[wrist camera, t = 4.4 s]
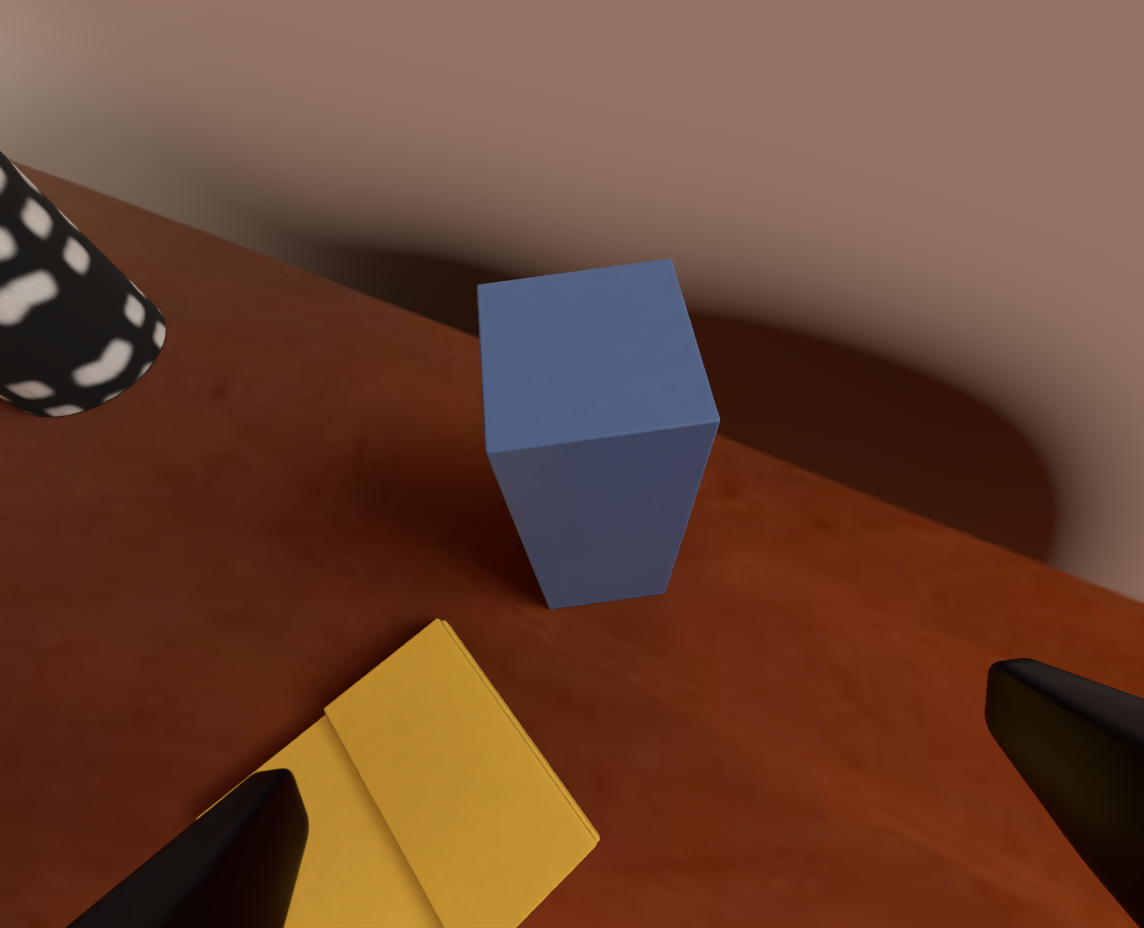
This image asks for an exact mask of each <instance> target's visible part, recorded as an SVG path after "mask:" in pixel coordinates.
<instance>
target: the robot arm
mask: <svg viewBox="0 0 1144 928" xmlns="http://www.w3.org/2000/svg"><path fill="white" fill-rule="evenodd" d="M985 719H986V723H987V726H988V729H989V731H990V733H991V734H992V736H993V738H994V739H995V741H996V742H997V743H998V745H999V746H1000V747H1001V749H1002V750H1003V752H1004V753H1005V754H1006V756H1007V757H1008V758H1009V760H1010V761H1011V763H1012V764H1013V765H1014V767H1015V768H1016V769H1017V771H1018V772H1019V774H1020V775H1021V776H1022V778H1023V779H1024V780H1025V782H1026V783H1027V785H1028V786H1029V787H1030V789H1031V790H1032V791H1033V793H1034V794H1035V796H1036V797H1037V798H1038V800H1039V801H1040V802H1041V804H1042V805H1043V807H1044V808H1045V809H1046V811H1047V812H1048V814H1049V815H1050V816H1051V818H1052V819H1053V820H1054V822H1055V823H1056V825H1057V826H1058V827H1059V829H1060V830H1061V831H1062V833H1063V834H1064V836H1065V837H1066V838H1067V840H1068V841H1069V842H1070V844H1071V845H1072V846H1073V848H1074V849H1075V850H1076V851H1077V853H1078V854H1079V855H1080V857H1081V858H1082V859H1083V861H1084V862H1085V863H1086V864H1087V866H1088V867H1089V868H1090V869H1091V871H1092V872H1093V873H1094V874H1095V875H1096V877H1097V878H1098V879H1099V880H1100V882H1101V883H1102V884H1103V885H1104V886H1105V888H1106V889H1107V890H1108V891H1109V892H1110V894H1111V895H1112V896H1113V897H1114V898H1115V899H1116V901H1117V902H1118V903H1119V904H1120V905H1121V907H1122V908H1123V909H1124V910H1125V911H1126V912H1127V914H1128V915H1129V916H1130V917H1131V918H1132V919H1133V921H1134V922H1135V923H1136V924H1137V925H1138V927H1139V928H1144V699H1143V698H1140V697H1137V696H1135V695H1132V694H1129V693H1126V692H1123V691H1120V690H1118V689H1115V688H1112V687H1109V686H1106V685H1103V684H1101V683H1098V682H1095V681H1092V680H1089V679H1087V678H1084V677H1081V676H1078V675H1075V674H1072V673H1070V672H1067V671H1064V670H1061V669H1058V668H1055V667H1053V666H1050V665H1047V664H1044V663H1041V662H1039V661H1036V660H1033V659H1028V658H1018V659H1011V660H1005V661H998V662H995V663H994V664H992V665H991V667H990V668H989V671H988V680H987V692H986V704H985ZM308 834H309V818H308V814H307V811H306V808H305V805H304V802H303V799H302V797H301V794H300V791H299V788H298V785H297V782H296V779H295V777H294V775H293V773H292V772H291V771H290V770H289V769H286V768H279V769H272V770H266V771H260V772H257V773H254V774H252V775H251V776H249V777H248V778H247V779H246V780H244V781H243V782H242V783H241V784H240V785H238V786H237V787H236V788H235V789H233V790H232V791H231V792H230V793H229V794H227V795H226V796H225V797H224V798H223V799H221V800H220V801H219V802H218V803H216V804H215V805H214V806H213V807H212V808H210V809H209V810H208V811H207V812H206V813H204V814H203V815H202V816H201V817H199V818H198V819H197V820H196V821H195V822H193V823H192V824H191V825H190V826H188V827H187V828H186V829H185V830H184V831H182V832H181V833H180V834H179V835H178V836H176V837H175V838H174V839H173V840H171V841H170V842H169V843H168V844H167V845H165V846H164V847H163V848H162V849H161V850H159V851H158V852H157V853H156V854H154V855H153V856H152V857H151V858H150V859H148V860H147V861H146V862H145V863H143V864H142V865H141V866H140V867H139V868H137V869H136V870H135V871H134V872H133V873H131V874H130V875H129V876H128V877H126V878H125V879H124V880H123V881H122V882H120V883H119V884H118V885H117V886H115V887H114V888H113V889H112V890H111V891H109V892H108V893H107V894H106V895H105V896H103V897H102V898H101V899H100V900H98V901H97V902H96V903H95V904H94V905H92V906H91V907H90V908H89V909H88V910H86V911H85V912H84V913H83V914H81V915H80V916H79V917H78V918H77V919H75V920H74V921H73V922H72V923H70V924H69V925H68V926H67V927H66V928H284V926H285V922H286V919H287V915H288V911H289V907H290V904H291V900H292V896H293V892H294V889H295V885H296V881H297V877H298V874H299V870H300V866H301V862H302V859H303V855H304V851H305V847H306V844H307V839H308Z"/></svg>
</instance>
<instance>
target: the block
mask: <svg viewBox="0 0 1144 928" xmlns="http://www.w3.org/2000/svg"><path fill="white" fill-rule="evenodd" d="M477 299H478V318H479V339H480V358H481V377H482V397H483V416H484V436H485V453H486V455H487V458H488V460H489V462H490V465H491V467H492V470H493V472H494V475H495V477H496V480H497V482H498V485H499V487H500V489H501V492H502V494H503V497H504V499H505V502H506V504H507V507H508V509H509V511H510V514H511V516H512V519H513V521H514V524H515V526H516V529H517V531H518V534H519V536H520V538H521V541H522V543H523V546H524V548H525V551H526V553H527V556H528V558H529V561H530V563H531V565H532V568H533V570H534V573H535V575H536V578H537V580H538V583H539V585H540V588H541V590H542V592H543V595H544V597H545V600H546V602H547V605H548V607H549V609H556V608H563V607H571V606H578V605H585V604H592V603H600V602H607V601H614V600H621V599H629V598H636V597H643V596H650V595H658V594H664V593H665V592H666V589H667V585H668V582H669V579H670V576H671V573H672V570H673V567H674V563H675V560H676V557H677V554H678V551H679V548H680V545H681V542H682V538H683V535H684V532H685V529H686V526H687V523H688V520H689V516H690V513H691V510H692V507H693V504H694V501H695V498H696V495H697V491H698V488H699V485H700V482H701V479H702V476H703V473H704V469H705V466H706V463H707V460H708V457H709V454H710V451H711V448H712V444H713V441H714V438H715V435H716V432H717V429H718V426H719V422H720V418H719V415H718V412H717V409H716V405H715V402H714V399H713V395H712V392H711V389H710V386H709V382H708V379H707V376H706V372H705V369H704V366H703V362H702V359H701V356H700V352H699V349H698V346H697V342H696V339H695V336H694V332H693V329H692V326H691V323H690V319H689V316H688V313H687V309H686V306H685V303H684V299H683V296H682V293H681V289H680V286H679V283H678V280H677V276H676V273H675V270H674V266H673V263H672V260H671V259H664V260H657V261H649V262H642V263H634V264H627V265H620V266H612V267H605V268H598V269H590V270H583V271H576V272H568V273H561V274H554V275H546V276H540V277H532V278H524V279H517V280H510V281H502V282H495V283H487V284H480V285H478V286H477Z"/></svg>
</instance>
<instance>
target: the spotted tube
mask: <svg viewBox="0 0 1144 928" xmlns="http://www.w3.org/2000/svg"><path fill="white" fill-rule="evenodd" d="M165 331H166V325H165V321H164V317H163V315H162V314H161V312H160V310H159V309H158V308H157V307H156V306H155V305H154V304H153V303H152V302H151V301H150V300H149V299H148V298H147V297H146V296H145V295H144V294H143V293H142V292H141V291H140V290H139V289H138V288H137V287H136V286H135V285H134V284H133V283H132V282H131V281H130V280H129V279H128V278H127V277H126V276H125V275H124V274H123V273H122V272H121V271H120V270H119V269H118V268H117V267H116V266H115V265H114V264H113V263H112V262H111V261H110V260H109V259H108V258H107V257H106V256H105V255H104V254H103V253H102V252H101V251H100V250H99V249H98V248H97V247H96V246H95V245H94V244H93V243H92V242H91V241H90V240H89V239H88V238H87V237H86V236H85V235H84V234H83V233H82V232H81V231H80V230H79V229H78V228H77V227H76V226H75V225H74V224H73V223H72V222H71V221H70V220H69V219H68V218H67V217H66V216H65V215H64V214H63V213H62V212H61V211H60V210H59V209H58V208H57V207H56V206H55V205H54V204H53V203H52V202H51V201H50V200H49V199H48V198H47V197H46V196H45V195H44V194H43V193H42V192H41V191H40V190H39V189H38V188H37V187H36V186H35V185H34V184H33V183H32V182H31V181H30V180H29V179H28V178H27V177H26V176H25V175H24V174H23V173H22V172H21V171H20V170H19V169H18V168H17V167H16V166H15V165H14V164H13V163H12V162H11V161H10V160H9V159H8V158H7V157H6V156H5V155H4V154H2V152H0V398H2V399H4V400H5V401H7V402H9V403H10V404H12V405H14V406H15V407H17V408H19V409H20V410H22V411H24V412H25V413H29V414H33V415H36V416H47V417H55V416H63V415H70V414H74V413H77V412H81V411H85V410H87V409H90V408H92V407H95V406H97V405H100V404H102V403H104V402H106V401H107V400H109V399H111V398H113V397H115V396H116V395H118V394H119V393H121V392H122V391H124V390H125V389H126V388H128V387H129V386H131V385H132V384H133V383H134V382H135V381H136V380H137V379H138V378H139V377H141V376H142V375H143V374H144V373H145V371H146V370H147V369H148V368H149V367H150V365H151V364H152V363H153V362H154V360H155V358H156V357H157V355H158V353H159V352H160V350H161V347H162V345H163V342H164V339H165Z"/></svg>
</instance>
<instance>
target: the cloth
mask: <svg viewBox="0 0 1144 928" xmlns="http://www.w3.org/2000/svg"><path fill="white" fill-rule="evenodd" d="M324 711H325V713H326V715H324V716H323V717H322V718H321V719H319V720H318V721H317V722H316V723H314V724H313V725H312V726H311V727H309V728H308V729H307V730H306V731H304V732H303V733H302V734H301V735H299V736H298V737H297V738H296V739H294V740H293V741H292V742H291V743H289V744H288V745H287V746H286V747H284V748H283V749H282V750H281V751H279V752H278V753H277V754H276V755H274V756H273V757H272V758H271V759H269V760H268V761H267V762H266V763H264V764H263V765H262V766H261V767H259V768H258V769H257V770H256V771H254V772H253V773H252V774H254V773H257V772H260V771H266V770H272V769H279V768H286V769H289V770H290V771H291V772H292V773H293V775H294V777H295V779H296V782H297V785H298V788H299V791H300V794H301V797H302V799H303V802H304V805H305V808H306V811H307V814H308V818H309V834H308V839H307V844H306V847H305V851H304V855H303V859H302V862H301V866H300V870H299V874H298V877H297V881H296V885H295V889H294V892H293V896H292V900H291V904H290V907H289V911H288V915H287V919H286V922H285V926H284V928H516V927H517V926H518V925H519V924H520V923H521V922H522V921H523V920H524V919H525V918H526V917H527V916H528V915H529V914H530V913H531V912H532V911H533V910H534V909H535V908H536V907H537V906H538V905H539V904H540V903H541V902H542V901H543V900H544V899H545V897H546V896H547V895H548V894H549V893H550V892H551V891H552V890H553V889H554V888H555V887H556V886H557V885H558V884H559V883H560V882H561V881H562V880H563V879H564V878H565V877H566V876H567V875H568V874H569V873H570V872H571V871H572V870H573V869H574V868H575V867H576V866H577V865H578V864H579V863H580V862H581V861H582V860H583V859H584V858H585V857H586V856H587V854H588V853H589V852H590V851H591V850H592V849H593V848H594V847H595V846H596V845H597V842H598V841H599V839H600V835H599V834H598V832H597V831H596V830H595V828H594V827H593V825H592V824H591V823H590V821H589V820H588V818H587V817H586V815H585V814H584V813H583V811H582V810H581V808H580V807H579V806H578V804H577V803H576V801H575V800H574V799H573V797H572V796H571V794H570V793H569V792H568V790H567V789H566V787H565V786H564V785H563V783H562V782H561V780H560V779H559V778H558V776H557V775H556V773H555V772H554V771H553V769H552V768H551V766H550V765H549V764H548V762H547V761H546V759H545V758H544V757H543V755H542V754H541V752H540V751H539V750H538V748H537V747H536V745H535V744H534V743H533V741H532V740H531V738H530V737H529V736H528V734H527V733H526V731H525V730H524V728H523V727H522V726H521V724H520V723H519V721H518V720H517V719H516V717H515V716H514V714H513V713H512V712H511V710H510V709H509V707H508V706H507V705H506V703H505V702H504V700H503V699H502V698H501V696H500V695H499V693H498V692H497V691H496V689H495V688H494V686H493V685H492V684H491V682H490V681H489V679H488V678H487V677H486V675H485V674H484V672H483V671H482V670H481V668H480V667H479V665H478V664H477V663H476V661H475V660H474V658H473V657H472V656H471V654H470V653H469V651H468V650H467V648H466V647H465V646H464V644H463V643H462V641H461V640H460V639H459V637H458V636H457V634H456V633H455V632H454V630H453V629H452V627H451V626H450V625H449V624H448V623H447V622H446V621H445V620H443V621H440V620H439V619H438V618H437V619H435V620H434V621H433V622H432V623H430V624H429V625H428V626H427V627H425V628H424V629H423V630H422V631H420V632H419V633H418V634H417V635H415V636H414V637H413V638H412V639H410V640H409V641H408V642H407V643H405V644H404V645H403V646H402V647H400V648H399V649H398V650H397V651H395V652H394V653H393V654H392V655H390V656H389V657H388V658H387V659H385V660H384V661H383V662H381V663H380V664H379V665H378V666H376V667H375V668H374V669H373V670H371V671H370V672H369V673H368V674H366V675H365V676H364V677H363V678H361V679H360V680H359V681H358V682H356V683H355V684H354V685H353V686H351V687H350V688H349V689H348V690H346V691H345V692H344V693H343V694H341V695H340V696H339V697H338V698H336V699H335V700H334V701H333V702H331V703H330V704H329V705H328V706H326V707H325V708H324ZM252 774H251V775H252ZM251 775H249V776H251ZM249 776H248V777H249ZM248 777H247V778H248ZM247 778H246V779H247ZM246 779H244V780H246ZM244 780H243V781H244ZM243 781H242V782H243ZM242 782H241V783H242ZM241 783H239V784H238V785H240V784H241ZM238 785H237V786H238ZM237 786H236V787H237ZM236 787H234V788H233V789H235V788H236ZM233 789H232V790H233ZM232 790H231V791H232ZM231 791H229V792H228V793H227V794H229V793H230V792H231ZM227 794H226V795H227ZM226 795H224V796H223V797H222V798H221V799H223V798H224V797H225V796H226ZM221 799H219V800H218V801H217V802H216V803H218V802H219V801H220V800H221ZM216 803H215V804H216ZM215 804H213V805H212V806H211V807H210V808H212V807H213V806H214V805H215ZM210 808H208V809H207V810H206V811H205V812H203V813H202V814H201V815H200V816H198V817H197V818H196V820H197V819H198V818H199V817H201V816H202V815H203V814H204V813H206V812H207V811H208V810H209V809H210Z"/></svg>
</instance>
